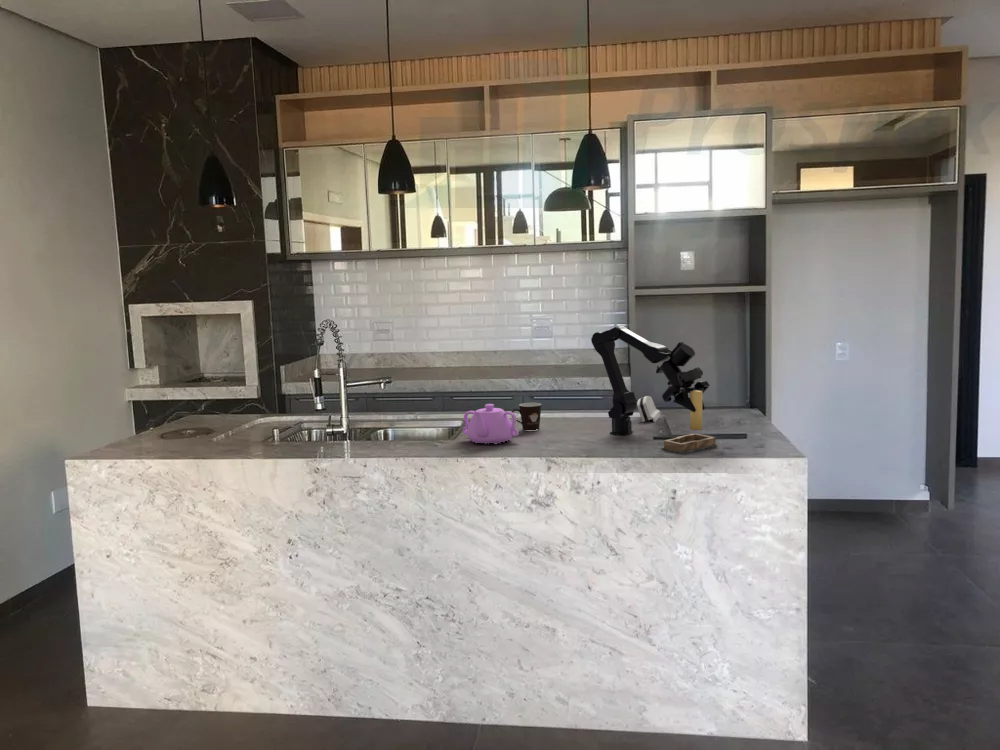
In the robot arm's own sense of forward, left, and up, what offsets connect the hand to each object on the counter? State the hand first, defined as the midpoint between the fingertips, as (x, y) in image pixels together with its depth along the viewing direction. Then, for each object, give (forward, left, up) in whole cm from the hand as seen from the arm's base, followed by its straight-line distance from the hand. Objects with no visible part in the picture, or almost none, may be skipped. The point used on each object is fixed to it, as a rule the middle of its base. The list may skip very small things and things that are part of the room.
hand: (699, 410), depth 264 cm
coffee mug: (-69, -6, -13) cm, 70 cm away
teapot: (-68, -31, -13) cm, 76 cm away
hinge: (-39, +37, -13) cm, 56 cm away
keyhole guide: (-2, -3, -12) cm, 13 cm away
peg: (-1, 0, -7) cm, 7 cm away
